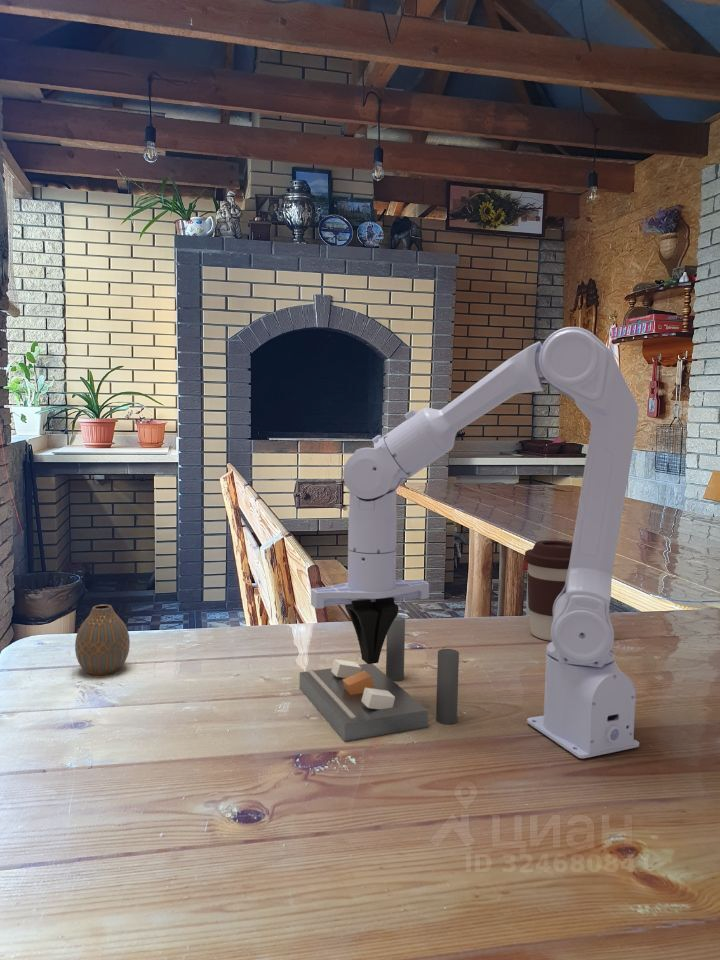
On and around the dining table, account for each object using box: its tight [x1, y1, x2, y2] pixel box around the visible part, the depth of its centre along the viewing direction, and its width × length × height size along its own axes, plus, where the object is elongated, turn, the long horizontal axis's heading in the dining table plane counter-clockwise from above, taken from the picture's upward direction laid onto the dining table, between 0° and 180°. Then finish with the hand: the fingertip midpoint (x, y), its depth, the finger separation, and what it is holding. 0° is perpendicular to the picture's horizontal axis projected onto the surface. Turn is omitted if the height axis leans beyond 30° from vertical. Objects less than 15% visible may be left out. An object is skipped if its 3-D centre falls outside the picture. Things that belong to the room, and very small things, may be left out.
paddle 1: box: [331, 658, 361, 678], centre depth 89 cm, size 2×3×2 cm, turn 112°
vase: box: [74, 603, 131, 676], centre depth 95 cm, size 7×7×9 cm
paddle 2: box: [361, 688, 395, 709], centre depth 80 cm, size 2×3×2 cm, turn 112°
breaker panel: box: [299, 663, 429, 742], centre depth 85 cm, size 16×10×2 cm, turn 22°
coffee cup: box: [524, 539, 573, 642], centre depth 113 cm, size 10×10×15 cm
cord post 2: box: [435, 648, 460, 725], centre depth 81 cm, size 2×2×8 cm
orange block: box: [342, 671, 374, 695], centre depth 84 cm, size 2×3×2 cm, turn 112°
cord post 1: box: [385, 616, 406, 682], centre depth 94 cm, size 2×2×8 cm
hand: (370, 660), depth 85 cm, fingers closed
